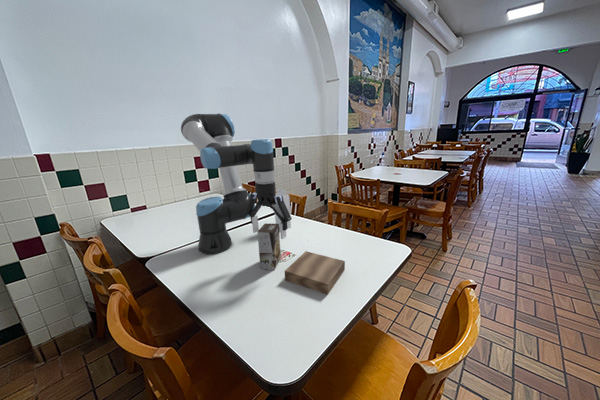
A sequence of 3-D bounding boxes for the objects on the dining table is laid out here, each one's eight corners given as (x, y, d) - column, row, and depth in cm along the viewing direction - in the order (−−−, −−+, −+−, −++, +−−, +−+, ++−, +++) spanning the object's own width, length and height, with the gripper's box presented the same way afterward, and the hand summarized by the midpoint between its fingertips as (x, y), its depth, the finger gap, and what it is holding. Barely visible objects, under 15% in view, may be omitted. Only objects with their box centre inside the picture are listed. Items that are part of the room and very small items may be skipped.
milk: (283, 230, 131) (280, 191, 124) (275, 228, 135) (272, 189, 128) (291, 227, 135) (289, 189, 129) (283, 224, 139) (281, 187, 133)
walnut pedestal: (285, 280, 89) (284, 270, 88) (306, 259, 102) (305, 251, 101) (327, 294, 80) (327, 284, 79) (344, 270, 94) (344, 261, 92)
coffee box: (275, 270, 95) (272, 232, 90) (259, 268, 96) (256, 231, 92) (281, 258, 104) (279, 223, 99) (267, 257, 105) (264, 222, 100)
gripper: (233, 181, 93) (239, 232, 99) (287, 186, 81) (291, 244, 87) (246, 178, 99) (251, 226, 105) (298, 182, 87) (301, 236, 93)
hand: (269, 234), depth 96 cm, fingers open, 13 cm apart
